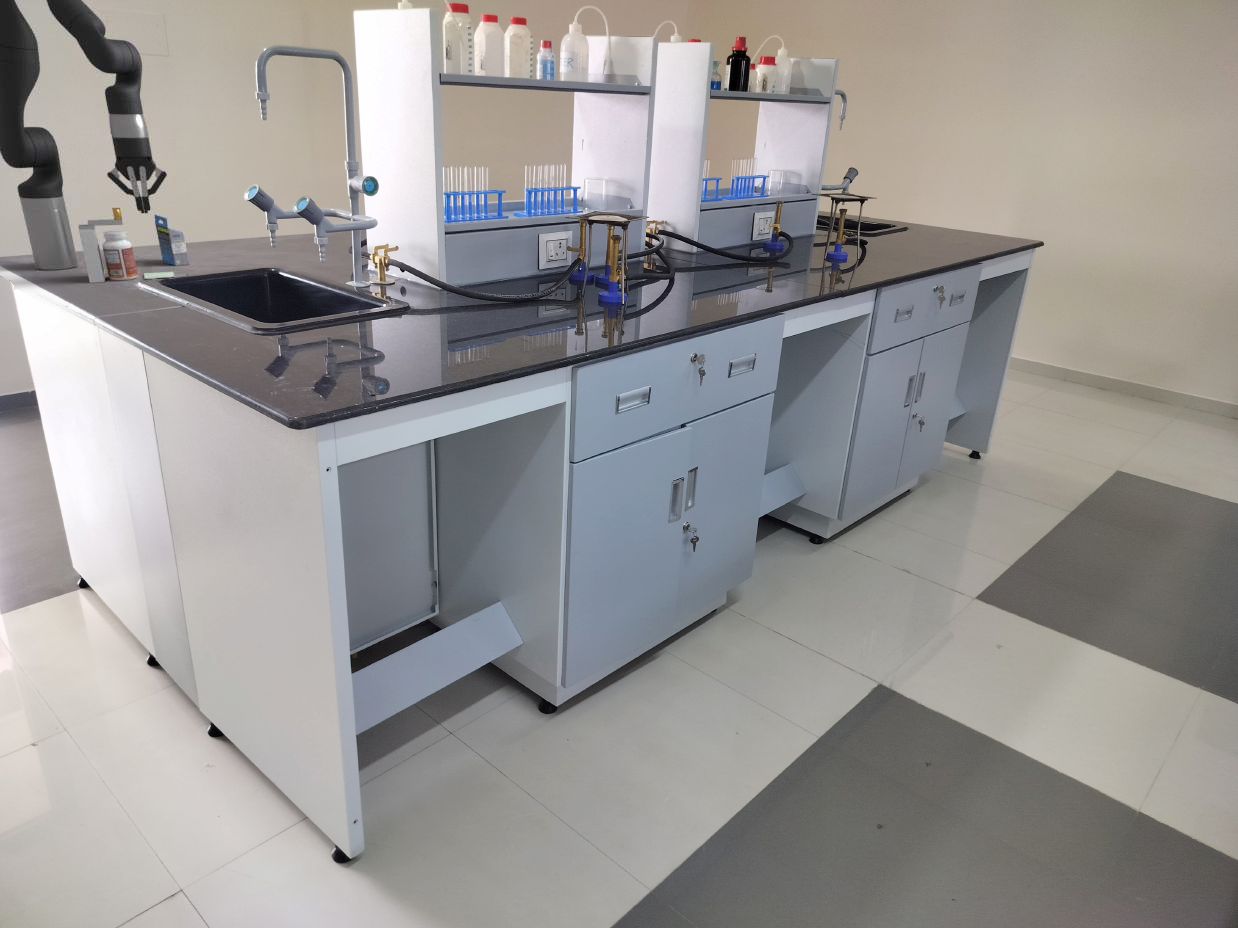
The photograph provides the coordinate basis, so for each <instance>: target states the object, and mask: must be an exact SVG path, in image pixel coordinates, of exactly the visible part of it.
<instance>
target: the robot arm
mask: <svg viewBox="0 0 1238 928" xmlns="http://www.w3.org/2000/svg"><path fill="white" fill-rule="evenodd" d="M46 3H47V6H48V9H49V11H50V12H51V14H52V16H53V17H54V18H55V19H56V20H57V22H58V23H59V24H60V25H61V26H62V27H63V28H64V29H65V30H66V31H67V32H68V33H69V34H70V35H71V36H72V37H73V38H74V39H75V40H76V42H77V44H78V45H79V47H80V48H81V50H82V52H83V54H84V55H85V57H86V59H87V60H88V62H89V63H91V65H92V66H93V67H94V68H96V69H97V70H99V71H100V72H101V73H104V74H108V75H109V74H113V75H115V82H114V84H112V85H109V86H107V87H106V88H105V90H104V95H105V101H106V107H107V113H108V122H109V123H108V124H109V129H110V130H109V131H110V135H111V138H112V144H113V150H114V156H115V163H114V167H113V169H112V170H110V171H108V172H107V174H106V176H107V178H109V179H110V180H111V181H112V182H113V183H114V184H115V185H116V186H117V187H118V188H120V190H121V191H123V192H124V193H125V194H126V195H129V196H133V197H134V199H135V205H136V209H137V211H138V212H140V214H148V213H149V211H151V204H150V198H149V197H150V196H151V195H155V194H156V192H157V191H158V190H159V188H160V187H161V185H162V184H163V183H164V180H165V179H166V178H167V176H168V175H167V172H166V171H165V170H162V169H160V168H159V167H157V164H156V162H155V161H154V159H153V154H152V149H151V145H150V138H149V131H148V126H147V122H146V119H145V116H144V112H143V105H142V99H141V89H142V76H143V74H142V73H143V62H142V58H141V55H140V53H139V50H138V49H137V47H136V46H135V45H134V44H133V43H131V42H130V41H127V40H124V39H113V38H107V37H105V35H106V31H107V30H106V26H105V24H104V22H103V21H102V20H101V19H100V18H99V16H98V15H97V14H96V13H95V12H94V11H93V10H92V9H91V8H90V7H89V6H88V5H87V4H86V3H85V2H84V1H83V0H46ZM38 45H39V43H38V40H37V36H36V35H35V33H34V31H33V29H32V28H31V25H30V24H29V22H28V20H27V19H26V18H25V16H24V15H23V13H22V11H21V10H20V8H19V6H18V5H17V2H16V1H15V0H0V154H1V158H2V159H3V161H4V162H5V164H7V165H8V166H9V167H11V168H12V169H13V168H14V169H31V168H32V174H31V176H30V177H29V178H27V179H26V180H24V181H23V182H21V183H19V184H18V185H17V193H18V197H19V201H20V205H21V206H20V207H21V209H22V214H23V217H24V221H25V225H26V226H25V227H26V231H27V234H28V238H29V243H30V248H31V252H32V256H33V257H32V258H33V261H34V265H35V268H36V269H38V270H47V271H48V270H51V271H52V270H64V269H72V268H76V267H78V266H79V262H78V257H77V253H76V248H75V244H74V243H75V242H74V238H73V233H72V230H71V225H70V220H69V216H68V215H69V214H68V211H67V207H66V202H65V198H64V193H63V186H64V180H63V173H62V167H61V159H60V154H59V148H58V145H57V142H56V140H55V138H54V136H53V135H52V133H51V132H50V131H49V130H48V129H46V128H44V127H41V126H25V121H24V120H25V118H24V117H25V115H24V113H25V107H26V103H27V101H28V99H29V98H30V97H29V96H30V95H31V93H32V91H33V89H34V87H35V86H36V84H37V81H38V80H39V77H40V72H41V62H40V53H39V46H38ZM119 173H120V174H119ZM154 173H155V174H154ZM153 174H154V176H155V177H156V179H155V181H154V182H153V184H152V185H151V186H150V188H148V184H147V183H148V182H147V181H149V180H150V179H151V178H152V175H153ZM121 175H122V176H123V177H124V178H125V179H126V180H127V181H129V182H130V185H131V188H129V187H128V186H127V184H125V183H124V182H123V181H122V180H121V179H120V176H121ZM138 182H140V186H141V192H140V190H139V186H138ZM141 195H142V196H141Z"/></svg>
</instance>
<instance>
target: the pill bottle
mask: <svg viewBox="0 0 1238 928" xmlns="http://www.w3.org/2000/svg"><path fill="white" fill-rule="evenodd" d="M103 238H104V240H105V241H104V242H103V243H102V245H101V246H102V251H103V256H104V260H105V264H106V270H107V275H108V278H109V279H110V280H111V281H119V282H121V281H130V280H134V279H137V278H138V270H137V265H136V260H135V259H136V258H135V254H134V249H133V245H132V242H130V241H129V240H127V232H126V230H119V229H117V230H107V231H103Z"/></svg>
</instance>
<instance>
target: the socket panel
mask: <svg viewBox="0 0 1238 928" xmlns="http://www.w3.org/2000/svg"><path fill="white" fill-rule="evenodd" d="M78 233H79V237H80V238H79V239H80V243H81V247H82V252H83V257H84V261H85V265H86V266H85V267H86V270H87V275H88V280H89V283H91V284H92V283H104V282H106V271H105V266H104V263H103V262H104V261H103V257H102V253H101V252H102V251H101V247H100V243H99V242H100V241H99V238H98V236H99V235H98V232H97V226H88V223H87V224H78Z"/></svg>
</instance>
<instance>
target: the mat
mask: <svg viewBox="0 0 1238 928" xmlns="http://www.w3.org/2000/svg"><path fill="white" fill-rule="evenodd" d="M143 275H144V280H145V279H152V280H157V279H156V278H163V277H173V276H174V277H175V273H174V271H164V272H146V273H145V272H144V273H143Z"/></svg>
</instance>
